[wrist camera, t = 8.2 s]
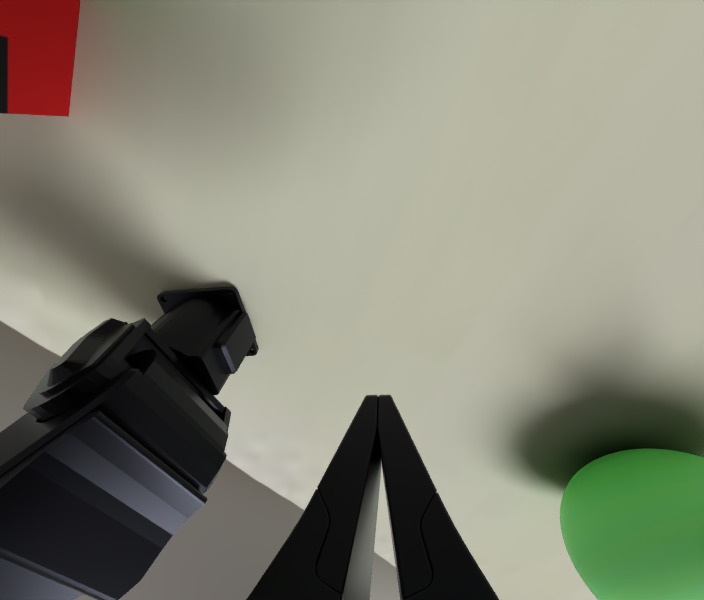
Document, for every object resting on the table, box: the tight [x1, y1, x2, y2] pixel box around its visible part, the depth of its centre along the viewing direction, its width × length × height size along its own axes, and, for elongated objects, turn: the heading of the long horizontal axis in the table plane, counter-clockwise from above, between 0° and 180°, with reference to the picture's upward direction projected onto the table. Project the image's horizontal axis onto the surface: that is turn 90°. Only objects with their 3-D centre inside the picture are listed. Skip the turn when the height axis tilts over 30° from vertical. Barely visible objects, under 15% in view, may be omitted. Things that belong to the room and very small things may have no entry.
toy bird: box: [560, 449, 704, 600], centre depth 23 cm, size 18×17×15 cm
